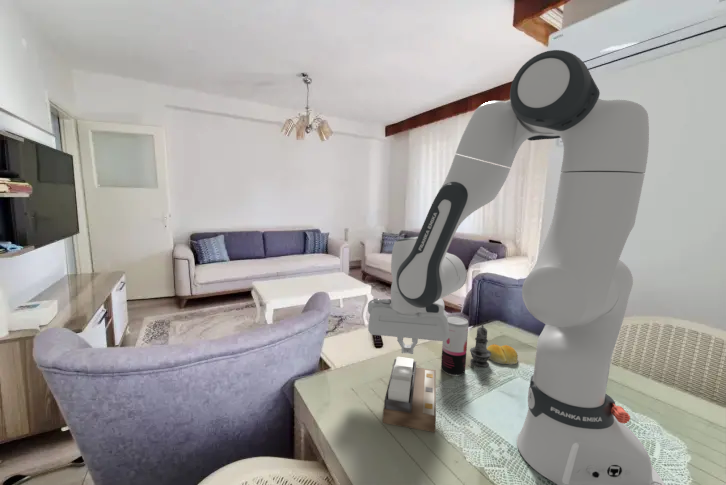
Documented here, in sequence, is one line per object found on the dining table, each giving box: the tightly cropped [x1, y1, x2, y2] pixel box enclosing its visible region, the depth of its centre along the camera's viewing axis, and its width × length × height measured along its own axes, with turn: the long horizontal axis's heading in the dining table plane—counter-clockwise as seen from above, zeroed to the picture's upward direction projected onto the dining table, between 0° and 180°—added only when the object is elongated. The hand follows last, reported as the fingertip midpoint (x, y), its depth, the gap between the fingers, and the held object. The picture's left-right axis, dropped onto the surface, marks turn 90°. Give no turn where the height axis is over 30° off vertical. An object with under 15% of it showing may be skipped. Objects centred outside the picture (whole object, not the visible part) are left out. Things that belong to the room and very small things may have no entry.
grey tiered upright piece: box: [469, 324, 491, 369], centre depth 91 cm, size 6×6×12 cm
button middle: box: [392, 365, 412, 386], centre depth 75 cm, size 4×4×2 cm
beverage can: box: [440, 315, 469, 377], centre depth 87 cm, size 7×6×15 cm
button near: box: [388, 379, 410, 403], centre depth 69 cm, size 4×4×2 cm
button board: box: [382, 358, 437, 433], centre depth 75 cm, size 11×19×5 cm, turn 167°
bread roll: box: [486, 344, 519, 366], centre depth 95 cm, size 8×9×4 cm
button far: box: [395, 356, 415, 372], centre depth 81 cm, size 4×4×2 cm
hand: (407, 352), depth 80 cm, fingers closed
